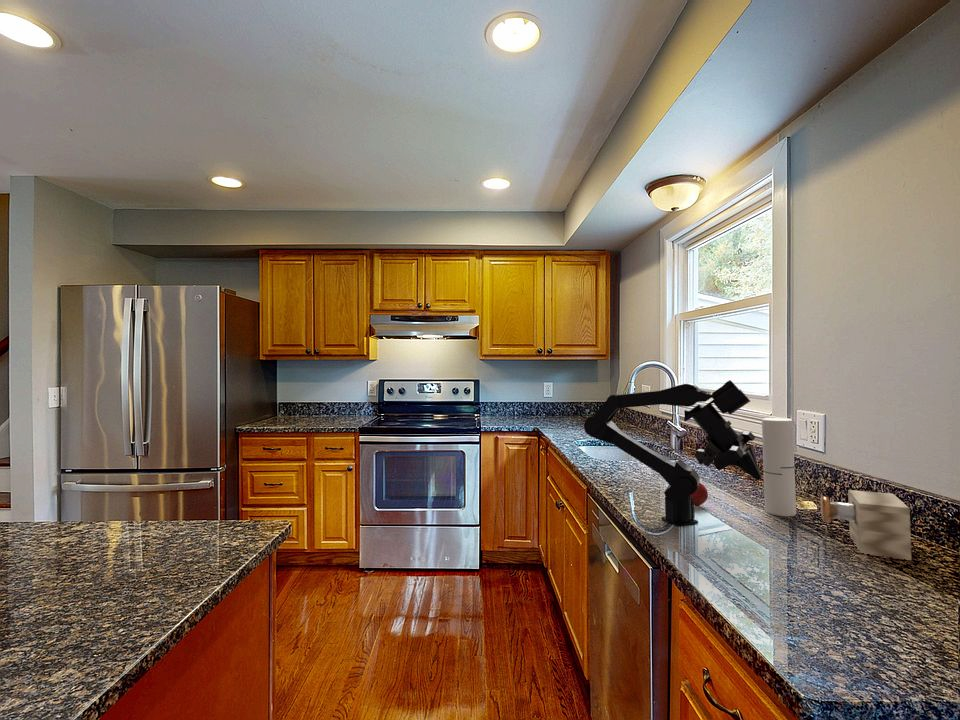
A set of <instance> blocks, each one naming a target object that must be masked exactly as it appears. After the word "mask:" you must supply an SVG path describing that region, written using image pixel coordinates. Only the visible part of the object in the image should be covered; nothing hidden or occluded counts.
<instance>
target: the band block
mask: <svg viewBox="0 0 960 720" xmlns="http://www.w3.org/2000/svg"><path fill="white" fill-rule="evenodd" d="M847 494H848V496H847V497H848V503H851V504H855V505H856V521H853V520H848V521H849V522H848V523H849V525H848V526H849V536H850V538H851V540H852V541H853V543H854V545H855V544H856V545H855V546H856V548H857V549H858V551H859V552H861V553H864V554H863V555H867V554H870V555H869V556H876V557H882V556H885V558H889V557H893V558H892V559H897V558H899V559H898V560H904V559H905V560H907V561H912V541H911V540H912V539H911V515H910V507H909V506H908V505H906V504H905V503H904V502H903V501H902V500H901V499H900V498H898V497H897V496H896V495H895V494H894V493H890V492H889V493H888V492H876V491H867V490H866V491H865V490H856V489H853V490H851V489H847ZM861 553H860V554H861Z"/></svg>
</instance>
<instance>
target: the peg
mask: <svg viewBox="0 0 960 720" xmlns="http://www.w3.org/2000/svg"><path fill="white" fill-rule="evenodd" d="M820 514H821V519H822V522H823V523H831V520H832V519H837V520H845V521H849V520H853V521H856V505H855V504H851V503H849V502H842V501H841V502H840V501H831V499H830V497H829V496H822V495H821V496H820Z"/></svg>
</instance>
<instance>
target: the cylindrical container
mask: <svg viewBox="0 0 960 720" xmlns="http://www.w3.org/2000/svg"><path fill="white" fill-rule="evenodd" d="M761 429H762V430H761V431H762V432H761V436H762V437H761V439H762V461H763V462H762V463H763V464H762V467H763V469H762V470H763V492H764V494H763V498H764V511H765V512H766V513H768V514H770V515H774V516H778V517H779V516H780V517H795V516H796V515H797V503H796V502H797V499H796V475H795V474H796V472H795V446H794V445H795V442H794V420H793V419H790V418H783V417H781V418H779V417H766V418H765V417H764V418H761Z"/></svg>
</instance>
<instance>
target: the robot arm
mask: <svg viewBox="0 0 960 720" xmlns="http://www.w3.org/2000/svg"><path fill="white" fill-rule="evenodd" d="M711 399H712V400H711ZM709 400H711V401H709ZM707 401H709V402H708V403H706V402H707ZM704 402H705V403H706V404H705V405H704V406H703V405H701V404H697V403H704ZM750 402H751V400H750V399H749V397H748V396H747V395H746V394H745V393H744V392H743V391H742V389H739V387H738V386H737V385H736V384H735V383H734V382H733V381H732V380H730V379H729V380H727V381H726V382H725V383H724V384H723V385H722V386H721V387H719V388H717V389H716V390H715V391H713V392H711V391H709V390H708V391H707V390H702V389H700V388H699V387H698V386H697V385H696V384H694V383H692V382H685V383H682V384H678V385H674V386H672V387H668V388H664V389H661V390H650V391H642V392H634V393H633V392H631V393H623V394H620V393H614V394H611V395H609V396H608V397H607V399H606V400H605V402H603V404H602V405H601V406H600V407H599V408H598V409H597V410H596V412H595V413H593V415H590V416H588V417H587V418H586V419H585V420H584V423H583V428H584V432H585V434H587V435H588V436H590V437H591V438H593V439H596V440H599V441H602V442H605V443H609V444H611V445H613V446H614V447H616V448H618V449H619V450H621V451H622V452H624V453H626V454H627V455H629V456H630V457H632V458H634V459H635V460H637V461H639V462H640V463H641V464H644V466H646V467H648V468H650V469H651V470H652V471H654V472H655V473H657V474H659V475H660V476H661V478H663V480H664V481H665V482H666V483H667V484H668V485H667V486H666V488H665V490H664V516H661V518H660V519H661V520H662V519H663V520H662V521H665V522H667V523H670V524H672V525H675V526H677V527H682V526H689V525H694V524H698V523H699V520H697V519H695V511H694V510H695V507H694V506H695V505H694V503H693V497H690V496H689V495H691V494H693V493H694V492H695V491H696V490H697V488H698V485H699V482H700V483H701V481H700V480H701V479H700V475H699V472H697V471H696V470H695V469H694V468H695V466H693V465H690V464H687V463H686V462H684V460H682V459H681V458H678V459H677V460H676V462H675V461H671V460H669V459H667V458H665V457H664V456H662V455H660V454H659V453H657V452H656V451H654V450H652V448H649V447H648V446H646V445H644V444H643V443H641V442H639V441H638V440H636V439H634V438H633V437H631V436H630V435H628V434H627V433H625V432H623V431H622V430H621V429H620V428H619V427H618V426H617V424H616V423H614V422H613V421H612V420H613V419H614V418H615V416H616V415H617V413H618V412H619V410H620V409H623V408H625V409H627V408H635V407H647V406H657V405H658V406H659V405H665V406H673V407H674V406H675V407H692V406H694V405H696V404H697V405H696V406H694V407H692V408H691V409H690V410H688V409H685V410H684V411H683V412H684V418H683V421H684V422H688V421H689V420H690V419H692V420H693V421H694V422H695V423H696V424H697V425H698V427H699V428H700V429H701V430H702V432H704V434H705V435H706V436H705V437H704V439H705V441H706V442H707V444H706V445H705V447H704V448H703V449H701V448H698V449H697V450H696V451H695V453H694V457H695V458H696V459H695V460H696V461H697V463H698V464H699V465H705V466H706V467H708V468H709V467H710V465H713V466H714V467H715V468H716V469H717V471H721V470H723V469H724V468H727V467H728V466H729V467H730V466H733V467H737V468H739V469H740V470H742V471H743V472H745V473H746V474H748V475H749V476H750V477H751V478H753V479H755V480H756V481H759V480H761V479H762V478H763V477H762V474H761V471H760V468H759V464H758V461H757V457H756V454H755V450H754V445H753V444H751V445H749V446H746V444H747V443H748V442H750V441H751V442H753V441H754V440H755V439H756V437H755V435H754V433H752V432H751V431H750V430H743V431H741V432H739V433H737V432H736V431H735V430H734V428H732V426H731V425H732V422H731V421H730V420H728V421H726V419H725V418H724V417H723V415H724V414H727V413H728V414H729V415H732V414H734V413H735V412H737V411H738V410H740V409H741V408H743V407H744V406H745V405H747V404H749V403H750ZM713 404H714V405H715V406H714V405H713ZM715 407H716V408H715ZM717 409H718V410H719V411H720V412H721V413H722V414H723V415H722V414H721V413H719V411H718V410H717Z"/></svg>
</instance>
